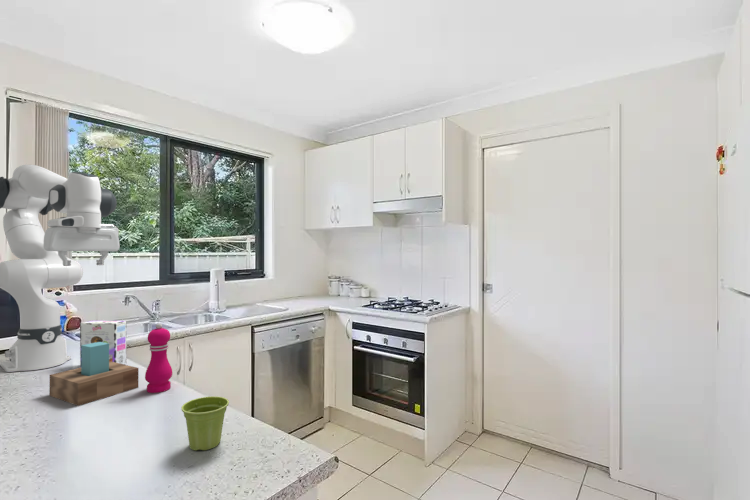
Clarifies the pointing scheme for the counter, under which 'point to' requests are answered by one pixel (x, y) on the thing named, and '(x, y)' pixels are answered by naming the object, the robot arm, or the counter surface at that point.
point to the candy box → (106, 337)
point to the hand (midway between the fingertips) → (84, 265)
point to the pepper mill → (158, 361)
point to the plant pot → (205, 421)
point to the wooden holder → (93, 384)
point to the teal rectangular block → (94, 358)
